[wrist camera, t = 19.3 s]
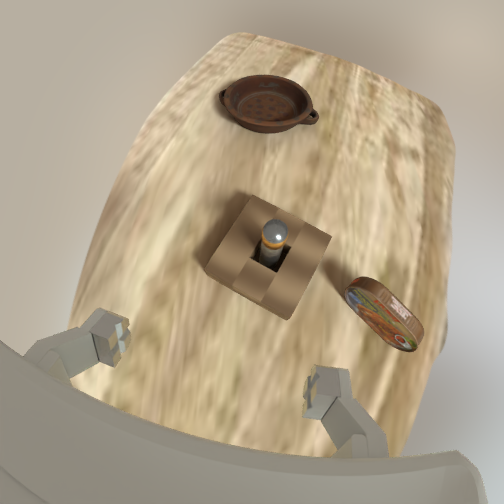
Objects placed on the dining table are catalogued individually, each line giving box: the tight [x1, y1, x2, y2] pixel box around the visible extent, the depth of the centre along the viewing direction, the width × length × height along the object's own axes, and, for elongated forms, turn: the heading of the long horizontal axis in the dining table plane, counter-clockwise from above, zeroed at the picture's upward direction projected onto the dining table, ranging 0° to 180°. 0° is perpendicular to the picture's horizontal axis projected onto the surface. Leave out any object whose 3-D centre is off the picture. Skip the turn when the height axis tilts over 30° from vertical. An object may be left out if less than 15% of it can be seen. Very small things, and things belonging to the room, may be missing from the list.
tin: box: [344, 277, 424, 352], centre depth 39 cm, size 15×3×8 cm, turn 45°
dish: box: [219, 75, 319, 133], centre depth 54 cm, size 18×22×5 cm
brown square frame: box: [204, 195, 332, 320], centre depth 44 cm, size 14×14×4 cm
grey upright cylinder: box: [259, 219, 288, 269], centre depth 40 cm, size 3×3×12 cm
